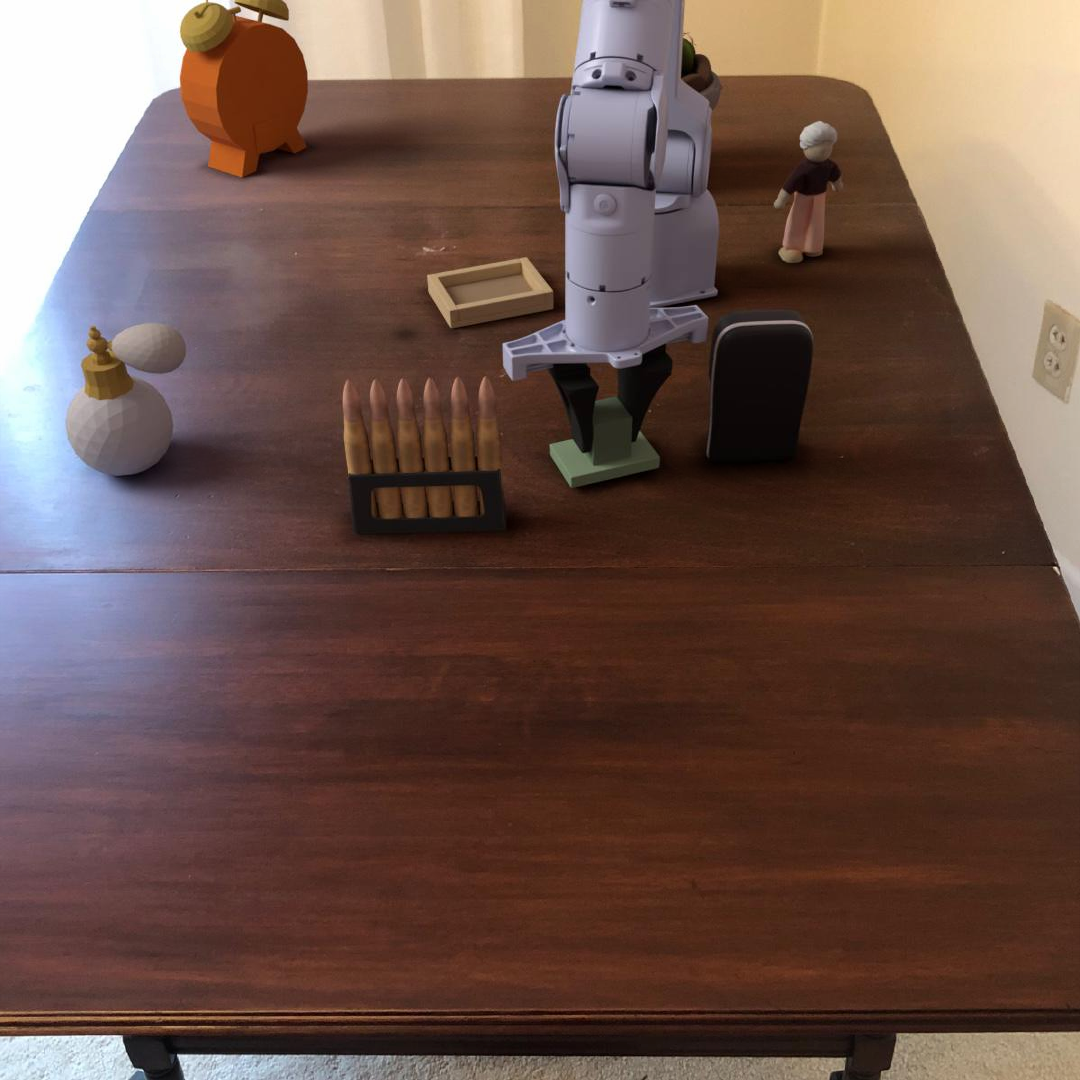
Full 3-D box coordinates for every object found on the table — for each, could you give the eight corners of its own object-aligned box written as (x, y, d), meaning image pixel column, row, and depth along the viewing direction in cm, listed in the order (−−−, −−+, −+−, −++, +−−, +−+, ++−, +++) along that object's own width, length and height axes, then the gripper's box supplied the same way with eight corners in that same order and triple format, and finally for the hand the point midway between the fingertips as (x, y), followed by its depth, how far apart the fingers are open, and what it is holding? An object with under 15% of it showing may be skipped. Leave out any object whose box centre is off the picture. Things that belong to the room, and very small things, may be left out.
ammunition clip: (352, 534, 85) (332, 388, 77) (355, 517, 87) (335, 372, 79) (506, 529, 85) (500, 384, 78) (506, 513, 87) (500, 368, 79)
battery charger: (788, 432, 94) (807, 299, 87) (799, 462, 91) (820, 326, 84) (698, 436, 94) (709, 303, 86) (706, 466, 91) (718, 330, 83)
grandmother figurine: (793, 272, 114) (811, 139, 106) (762, 258, 116) (777, 127, 108) (845, 247, 118) (866, 116, 110) (813, 233, 120) (831, 105, 112)
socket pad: (527, 274, 114) (526, 256, 113) (553, 309, 109) (553, 291, 108) (428, 292, 112) (427, 274, 111) (450, 329, 107) (449, 310, 106)
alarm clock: (279, 131, 142) (251, -54, 129) (318, 143, 139) (293, -45, 127) (193, 170, 134) (153, -24, 121) (232, 183, 131) (196, -14, 118)
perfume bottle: (80, 442, 94) (37, 303, 86) (208, 423, 96) (178, 285, 88) (77, 500, 88) (31, 357, 81) (214, 478, 90) (181, 336, 83)
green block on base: (635, 435, 93) (637, 385, 90) (659, 468, 90) (662, 417, 87) (549, 454, 92) (548, 404, 89) (571, 488, 88) (571, 437, 85)
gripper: (525, 320, 76) (529, 492, 85) (734, 279, 80) (717, 449, 88) (489, 270, 81) (497, 438, 90) (688, 234, 85) (676, 398, 94)
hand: (604, 440), depth 90 cm, fingers closed on green block on base, 3 cm apart
